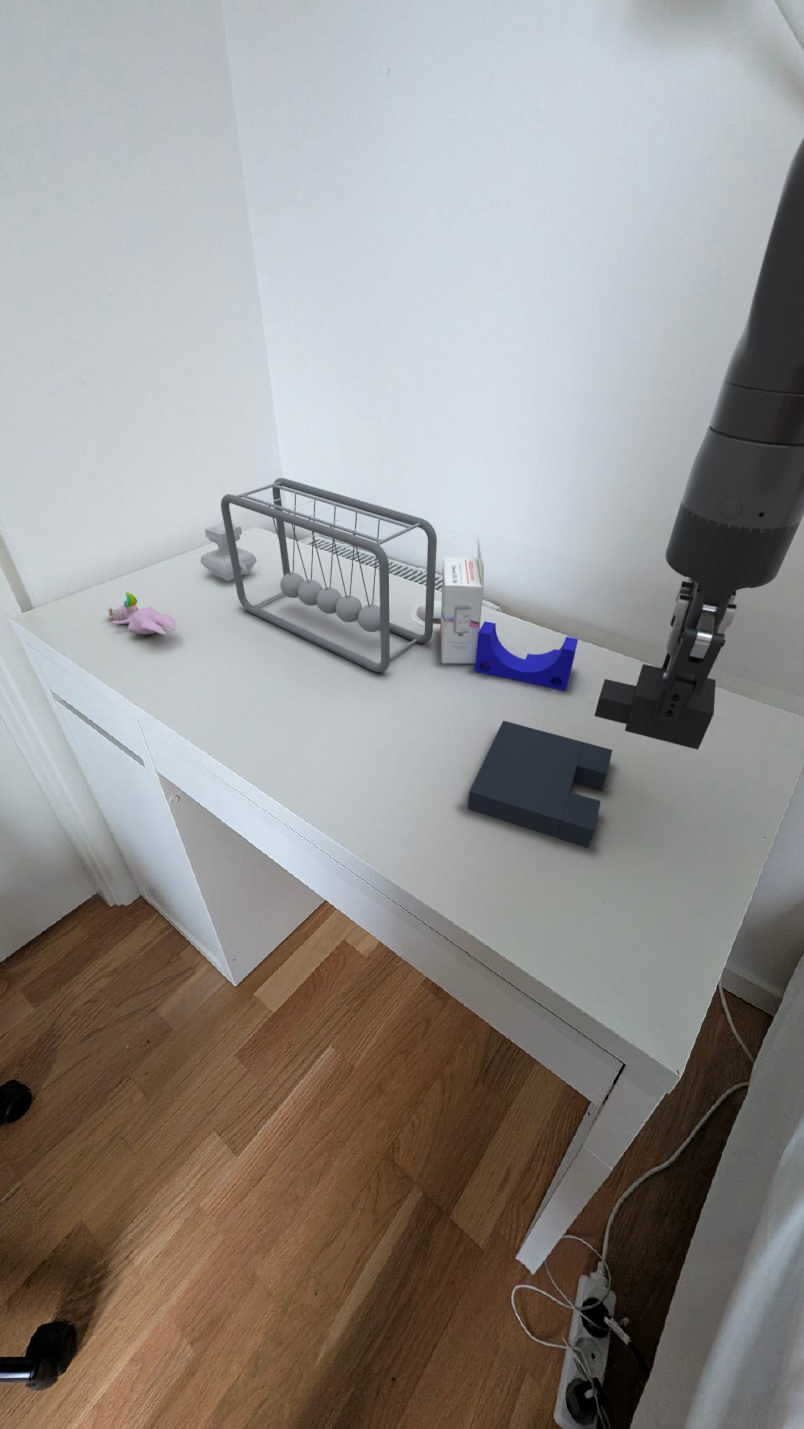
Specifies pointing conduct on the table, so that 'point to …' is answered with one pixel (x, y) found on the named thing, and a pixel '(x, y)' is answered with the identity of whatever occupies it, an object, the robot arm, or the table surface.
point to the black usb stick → (639, 704)
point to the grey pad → (541, 782)
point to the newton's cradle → (329, 597)
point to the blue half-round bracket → (524, 661)
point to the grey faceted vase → (225, 553)
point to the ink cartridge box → (461, 608)
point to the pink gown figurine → (141, 618)
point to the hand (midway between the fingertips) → (668, 700)
